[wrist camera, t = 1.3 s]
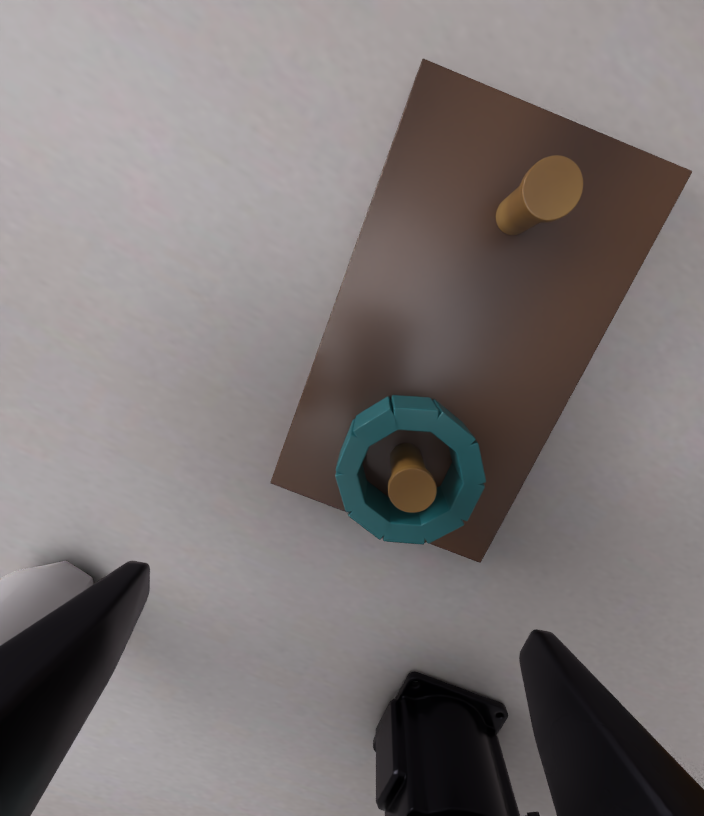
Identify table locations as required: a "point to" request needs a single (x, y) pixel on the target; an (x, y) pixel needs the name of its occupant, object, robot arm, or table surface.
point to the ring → (451, 496)
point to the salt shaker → (37, 594)
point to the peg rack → (476, 292)
